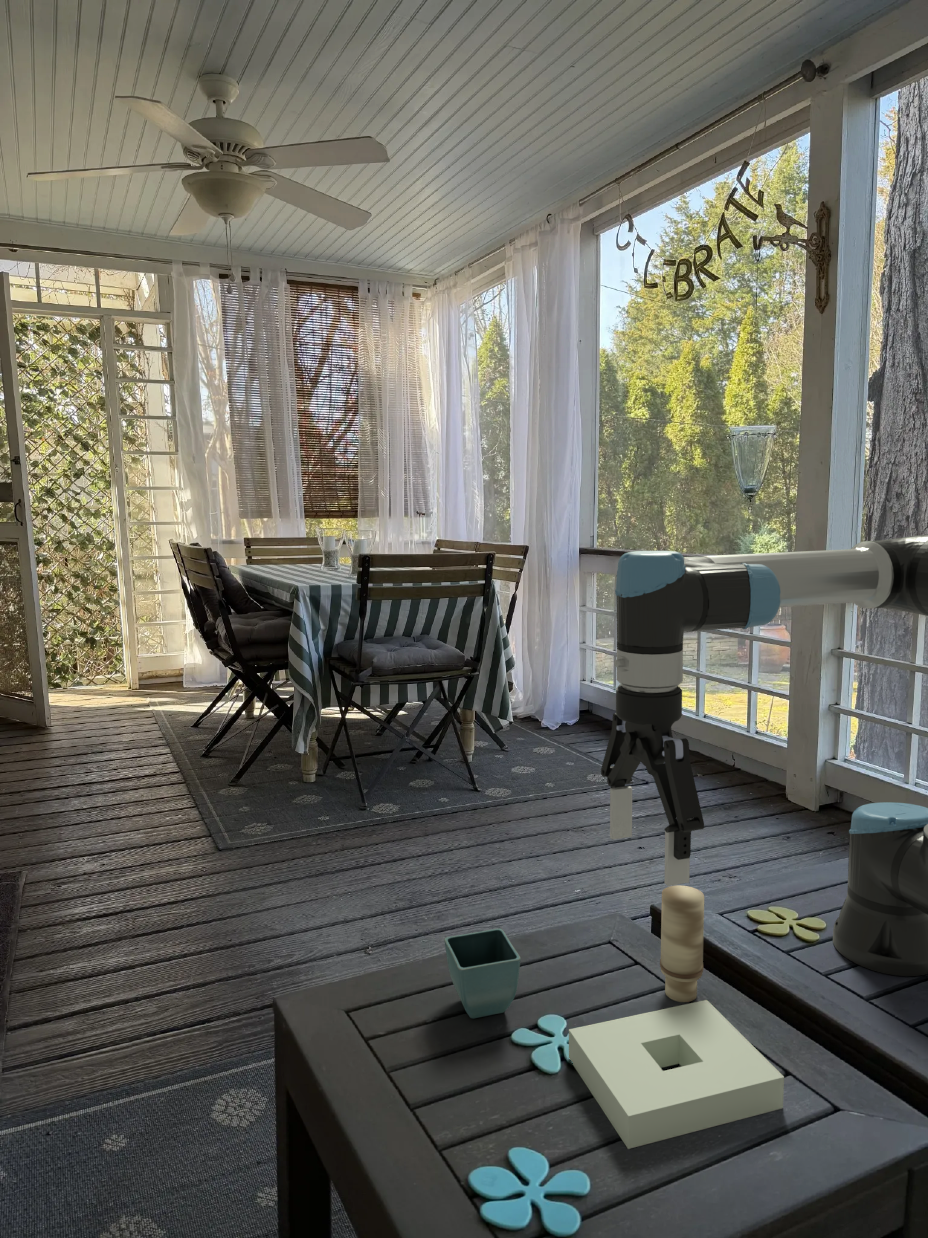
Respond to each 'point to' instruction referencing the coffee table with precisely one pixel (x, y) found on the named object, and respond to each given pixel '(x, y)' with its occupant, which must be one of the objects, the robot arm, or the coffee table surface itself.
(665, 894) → the tan wooden cylinder
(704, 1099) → the sage board
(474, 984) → the flower pot
